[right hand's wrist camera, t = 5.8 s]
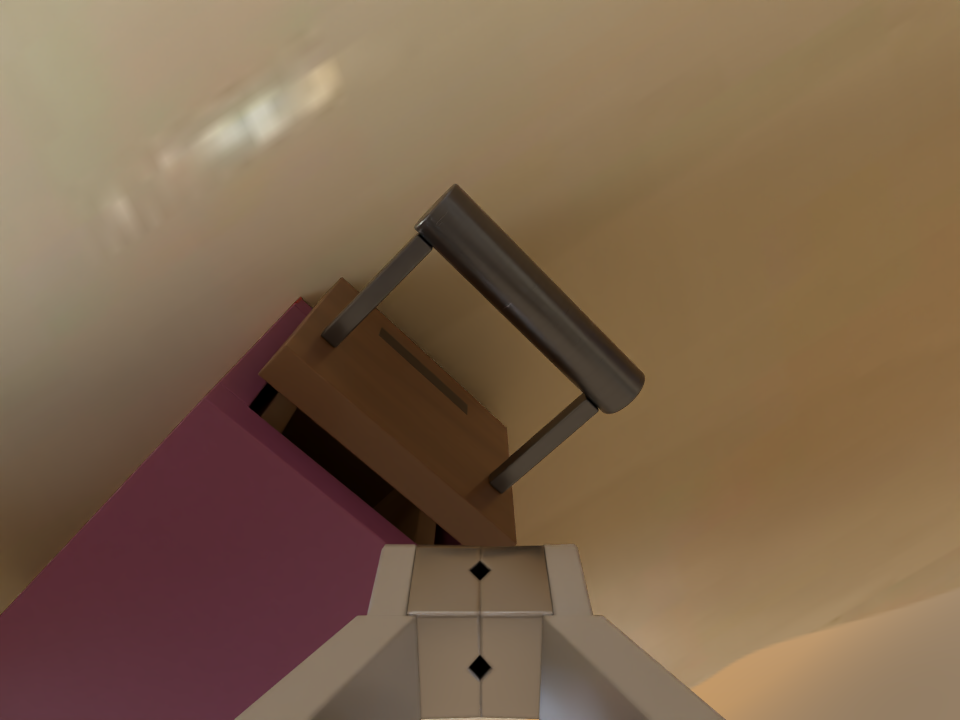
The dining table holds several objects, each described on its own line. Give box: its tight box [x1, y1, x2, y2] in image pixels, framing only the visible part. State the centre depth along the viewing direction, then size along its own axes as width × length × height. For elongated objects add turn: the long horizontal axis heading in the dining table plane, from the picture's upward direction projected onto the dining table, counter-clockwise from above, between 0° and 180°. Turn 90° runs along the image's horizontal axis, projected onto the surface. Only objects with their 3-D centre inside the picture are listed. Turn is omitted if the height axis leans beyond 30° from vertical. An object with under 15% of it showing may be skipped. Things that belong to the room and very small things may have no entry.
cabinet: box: [0, 297, 462, 720], centre depth 25 cm, size 20×10×10 cm, turn 135°
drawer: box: [251, 184, 645, 546], centre depth 24 cm, size 25×9×8 cm, turn 135°
